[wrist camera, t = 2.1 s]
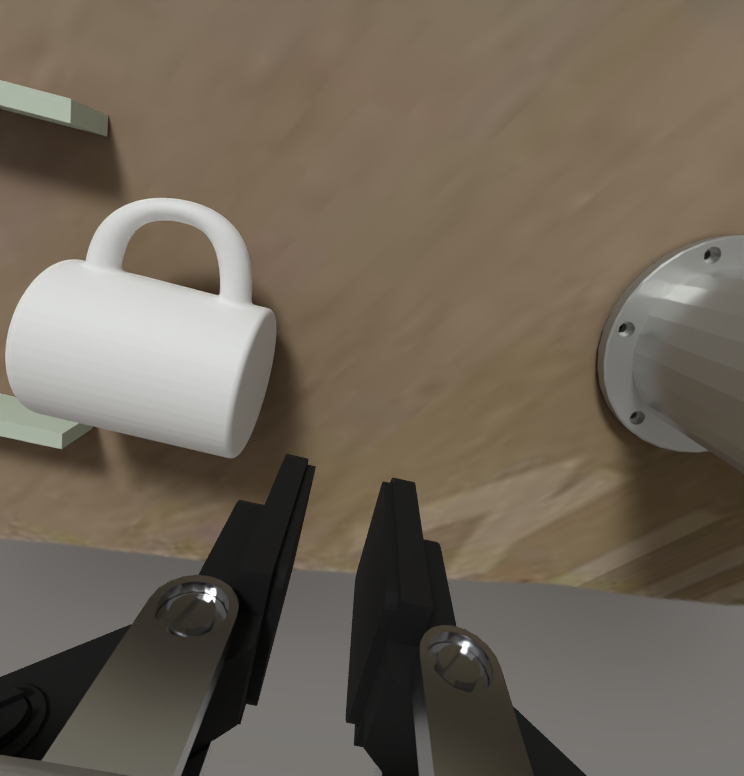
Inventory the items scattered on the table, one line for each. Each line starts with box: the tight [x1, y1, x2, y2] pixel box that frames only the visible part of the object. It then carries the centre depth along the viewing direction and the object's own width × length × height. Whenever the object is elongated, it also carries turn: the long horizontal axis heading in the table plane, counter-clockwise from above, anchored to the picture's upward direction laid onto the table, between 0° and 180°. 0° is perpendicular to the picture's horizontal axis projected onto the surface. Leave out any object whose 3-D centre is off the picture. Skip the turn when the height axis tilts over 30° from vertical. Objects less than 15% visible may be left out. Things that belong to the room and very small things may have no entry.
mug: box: [5, 198, 277, 458], centre depth 23 cm, size 12×10×8 cm
